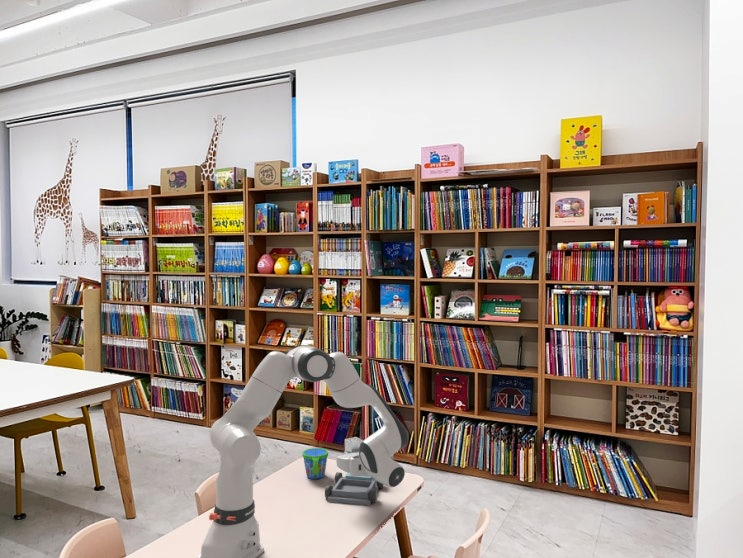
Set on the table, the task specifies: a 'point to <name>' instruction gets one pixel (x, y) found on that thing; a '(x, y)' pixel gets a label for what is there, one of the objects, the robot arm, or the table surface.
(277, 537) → the table surface
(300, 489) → the table surface
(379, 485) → the toy truck
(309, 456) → the snack cup
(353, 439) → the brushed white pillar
